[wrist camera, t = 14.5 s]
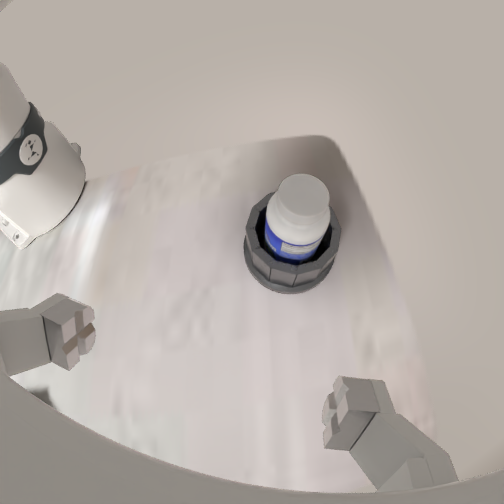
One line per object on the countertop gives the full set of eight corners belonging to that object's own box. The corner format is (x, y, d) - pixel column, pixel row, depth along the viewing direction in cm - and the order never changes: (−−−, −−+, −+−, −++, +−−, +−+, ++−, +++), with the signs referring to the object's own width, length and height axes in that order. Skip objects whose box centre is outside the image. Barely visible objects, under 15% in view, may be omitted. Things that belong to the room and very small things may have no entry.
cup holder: (233, 280, 30) (228, 263, 25) (257, 203, 34) (257, 177, 29) (324, 303, 29) (336, 290, 24) (338, 223, 32) (350, 199, 28)
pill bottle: (263, 223, 31) (265, 164, 22) (312, 222, 31) (332, 165, 22) (264, 271, 29) (268, 225, 20) (318, 270, 29) (343, 224, 20)
